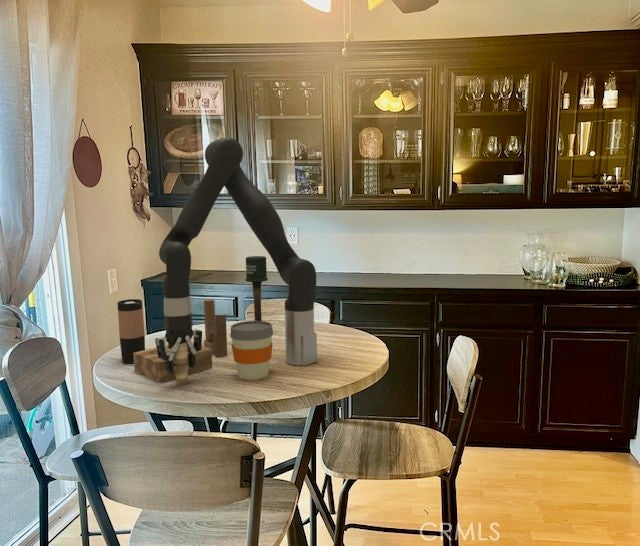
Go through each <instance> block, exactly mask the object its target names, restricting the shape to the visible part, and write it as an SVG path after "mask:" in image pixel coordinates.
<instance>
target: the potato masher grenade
mask: <svg viewBox="0 0 640 546" xmlns="http://www.w3.org/2000/svg"><path fill="white" fill-rule="evenodd" d="M267 271H268V269H267V257H266V256H263V255H252V256H247V257H245V273H246V274H245V275H246V276H245V277H246V278H245V282H248V283H251V284H252V297H253V311H254V312H253V313H254V320H253V321H263V320H262V282H267V281H268V280H269V278H268V275H267V274H268V273H267Z"/></svg>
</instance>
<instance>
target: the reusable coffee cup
mask: <svg viewBox="0 0 640 546" xmlns="http://www.w3.org/2000/svg"><path fill="white" fill-rule="evenodd" d="M273 335H274V332H273V324H272V323H271V322H269V321H263V320H262V321H254V320H249V321H248V320H247V321H241V322H236V323H233V324H232V325H230V334H229V336H230V339H231V341H232V342H231V343H232V344H231V350H232V357H233V360H234V362H235V365H236V370H237V377H238V378H240V379H241V380H245V379H246V381H257V380H261V379H264V378H266V377H268V376H269V370H270V360H272V352H273V342H272V338H273Z"/></svg>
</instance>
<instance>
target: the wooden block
mask: <svg viewBox="0 0 640 546" xmlns="http://www.w3.org/2000/svg"><path fill="white" fill-rule="evenodd" d="M215 308H216V306H215V299H212V298H207V299H203V311H204V312H203V313H204V314H203V315H204V333H205V334H204V335H205V336H204V338H205V339H204V340H203V346H204V347H207V348H210V349H211V350H212V356H213V355H214V356H216V357H217V358H221V357H225V356H228V342H227V341H228V339H227V338H228V337H227V334H228V333H227V315H226V313H225V314H220V315H216V309H215Z"/></svg>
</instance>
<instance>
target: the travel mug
mask: <svg viewBox="0 0 640 546" xmlns="http://www.w3.org/2000/svg"><path fill="white" fill-rule="evenodd" d="M116 303H117V320H118V333H119V335H118V336H119V344H120V353H121V361H122V364H123V363H124V364H123V365H126V364H134V356H133V353H135V352H139V351H143V350H146V340H145V339H146V336H145V323H144V311H143V310H144V309H143V301H142V299H138V298H133V299H131V298H130V299H123V300H119V301H118V302H116Z"/></svg>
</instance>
